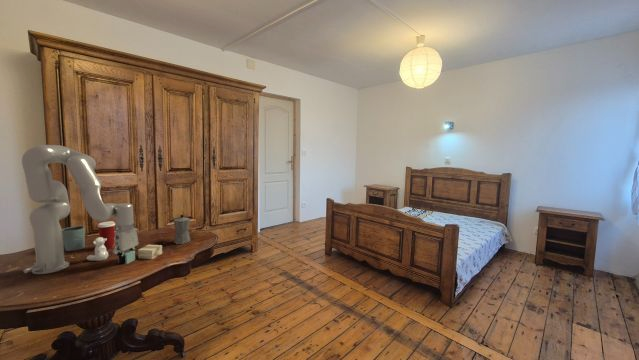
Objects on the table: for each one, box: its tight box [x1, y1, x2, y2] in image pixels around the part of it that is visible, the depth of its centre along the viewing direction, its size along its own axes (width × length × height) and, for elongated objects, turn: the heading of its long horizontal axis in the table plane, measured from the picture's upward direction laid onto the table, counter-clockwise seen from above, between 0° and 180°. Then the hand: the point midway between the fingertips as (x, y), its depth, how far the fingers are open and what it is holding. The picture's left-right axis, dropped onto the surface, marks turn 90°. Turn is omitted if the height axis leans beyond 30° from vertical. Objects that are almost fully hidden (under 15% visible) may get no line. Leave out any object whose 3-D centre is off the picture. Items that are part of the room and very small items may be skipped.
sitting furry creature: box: [86, 236, 109, 262], centre depth 140 cm, size 10×9×12 cm
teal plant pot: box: [61, 225, 86, 252], centre depth 153 cm, size 10×10×12 cm
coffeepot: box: [173, 214, 191, 245], centre depth 169 cm, size 15×9×18 cm, turn 27°
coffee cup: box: [97, 221, 116, 250], centre depth 155 cm, size 8×8×15 cm
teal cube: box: [117, 249, 136, 265], centre depth 138 cm, size 5×5×5 cm
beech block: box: [137, 244, 163, 260], centre depth 146 cm, size 8×8×5 cm
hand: (127, 260), depth 138 cm, fingers closed on teal cube, 5 cm apart
